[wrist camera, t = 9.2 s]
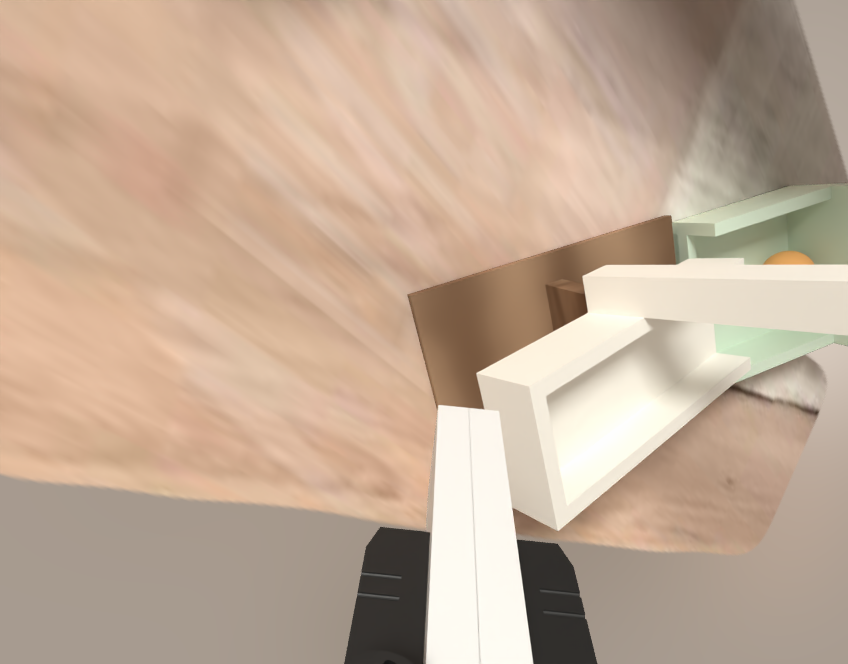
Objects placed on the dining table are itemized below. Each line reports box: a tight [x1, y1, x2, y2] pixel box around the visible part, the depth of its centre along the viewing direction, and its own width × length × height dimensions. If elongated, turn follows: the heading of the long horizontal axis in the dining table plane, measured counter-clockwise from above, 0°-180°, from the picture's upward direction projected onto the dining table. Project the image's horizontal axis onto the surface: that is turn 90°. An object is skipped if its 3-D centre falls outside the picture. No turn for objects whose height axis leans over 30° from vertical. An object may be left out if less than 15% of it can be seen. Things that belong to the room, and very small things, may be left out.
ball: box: [763, 251, 814, 265], centre depth 36 cm, size 3×3×3 cm
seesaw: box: [476, 258, 848, 531], centre depth 21 cm, size 18×9×18 cm, turn 104°
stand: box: [408, 216, 676, 411], centre depth 32 cm, size 18×12×5 cm, turn 104°
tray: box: [672, 183, 848, 383], centre depth 35 cm, size 10×11×6 cm
